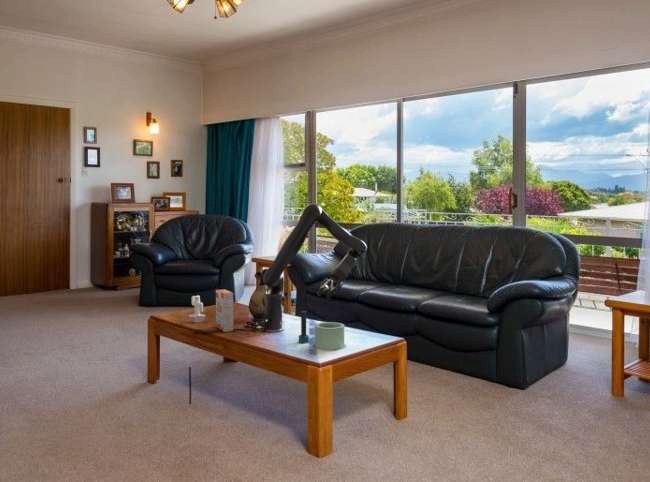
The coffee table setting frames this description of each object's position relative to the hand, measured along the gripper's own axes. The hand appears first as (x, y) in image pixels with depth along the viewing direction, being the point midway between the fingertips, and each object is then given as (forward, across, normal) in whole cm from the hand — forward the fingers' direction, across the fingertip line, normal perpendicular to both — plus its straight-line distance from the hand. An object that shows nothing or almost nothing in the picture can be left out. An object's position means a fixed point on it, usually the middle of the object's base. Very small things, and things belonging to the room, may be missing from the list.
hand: (322, 296), depth 284 cm
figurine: (+42, -75, -11) cm, 87 cm away
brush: (+23, 0, +7) cm, 24 cm away
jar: (+19, +14, +11) cm, 26 cm away
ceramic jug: (+17, -61, +14) cm, 65 cm away
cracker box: (+38, -48, -8) cm, 62 cm away
